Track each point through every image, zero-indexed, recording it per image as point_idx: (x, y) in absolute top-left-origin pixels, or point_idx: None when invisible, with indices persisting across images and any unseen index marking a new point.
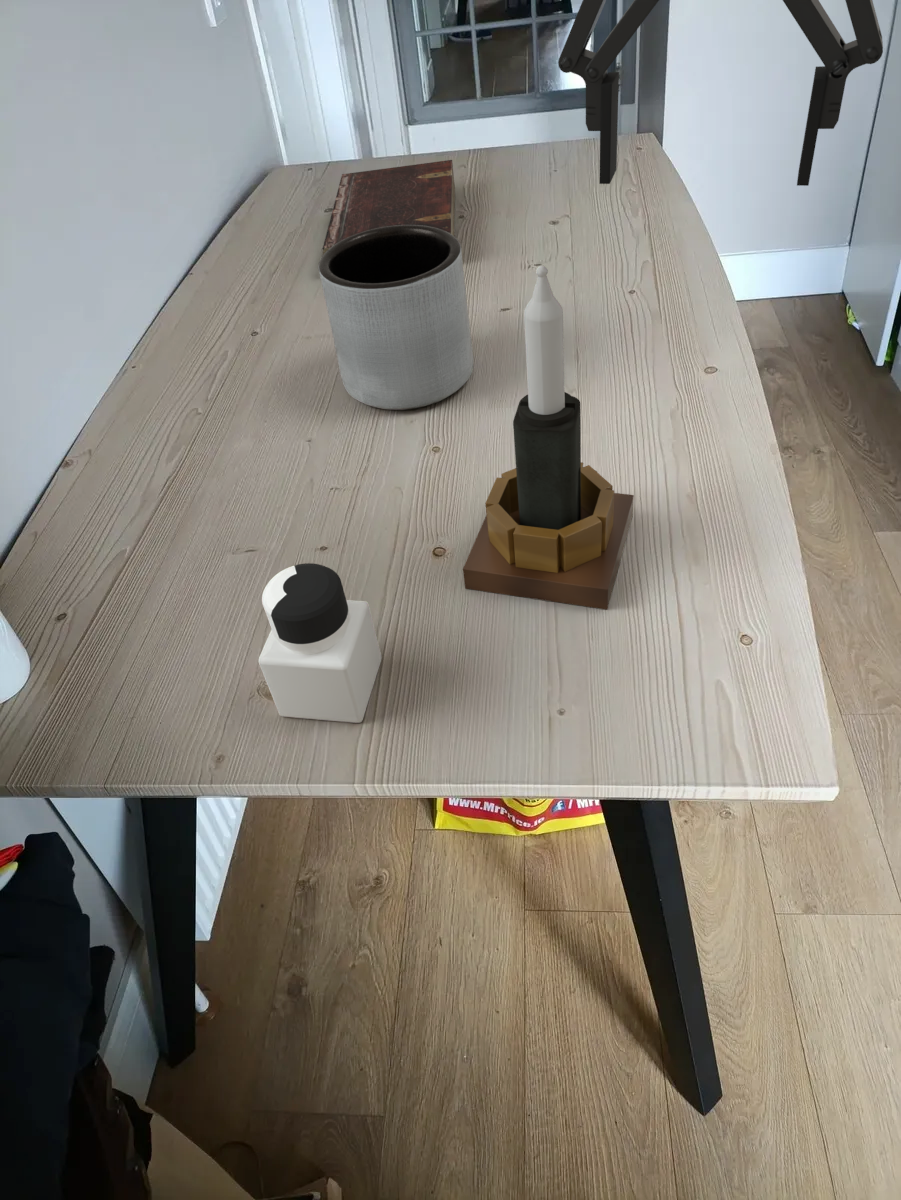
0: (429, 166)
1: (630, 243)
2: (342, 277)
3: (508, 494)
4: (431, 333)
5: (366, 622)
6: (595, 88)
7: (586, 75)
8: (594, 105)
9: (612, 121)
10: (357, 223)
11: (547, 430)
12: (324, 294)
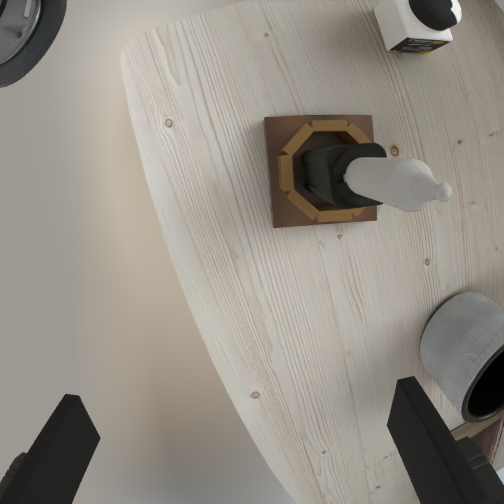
0: None
1: (331, 485)
2: None
3: None
4: (462, 337)
5: (401, 28)
6: (488, 495)
7: None
8: (477, 471)
9: (433, 463)
10: (489, 439)
11: (350, 144)
12: None
